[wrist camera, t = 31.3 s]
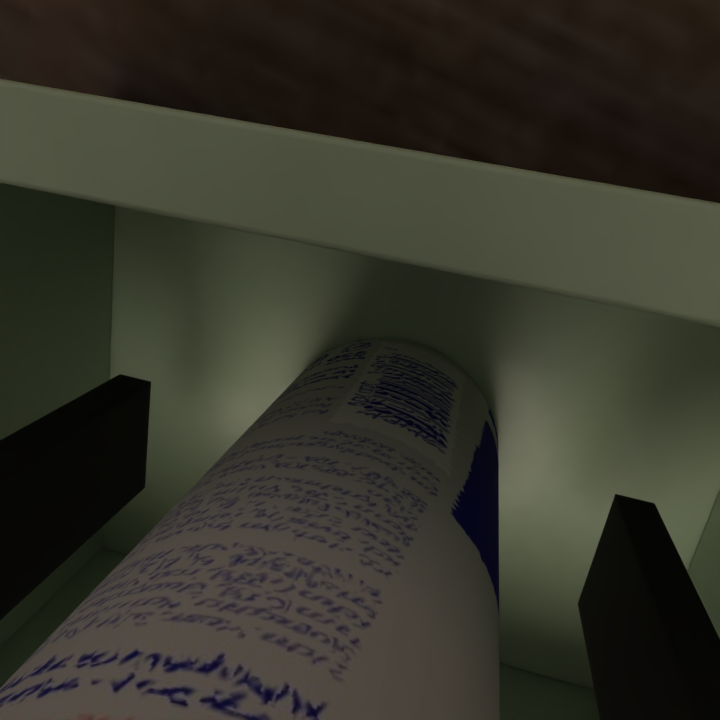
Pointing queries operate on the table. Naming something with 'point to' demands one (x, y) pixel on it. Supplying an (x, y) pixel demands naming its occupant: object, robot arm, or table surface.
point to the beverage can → (306, 567)
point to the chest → (364, 332)
